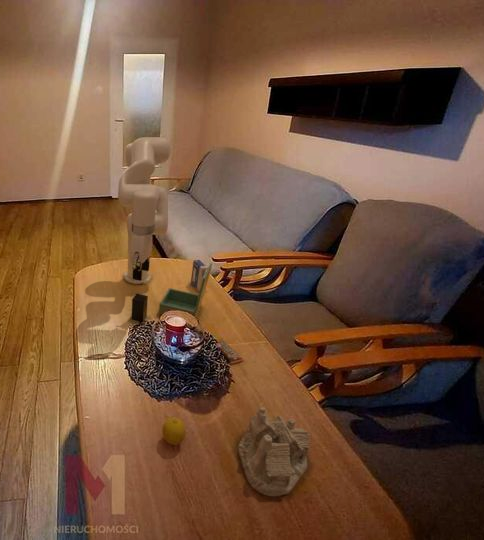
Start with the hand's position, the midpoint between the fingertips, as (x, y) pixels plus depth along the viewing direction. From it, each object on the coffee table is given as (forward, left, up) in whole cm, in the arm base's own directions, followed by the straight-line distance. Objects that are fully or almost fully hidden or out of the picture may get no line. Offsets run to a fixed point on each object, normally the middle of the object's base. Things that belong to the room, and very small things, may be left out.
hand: (140, 274), depth 124 cm
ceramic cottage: (+40, +49, -20) cm, 66 cm away
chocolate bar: (+5, +33, -20) cm, 39 cm away
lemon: (+45, +26, -20) cm, 56 cm away
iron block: (0, 0, -20) cm, 20 cm away
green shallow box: (-11, +13, -20) cm, 26 cm away
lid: (-12, +20, -6) cm, 24 cm away
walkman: (-33, +15, -20) cm, 41 cm away
